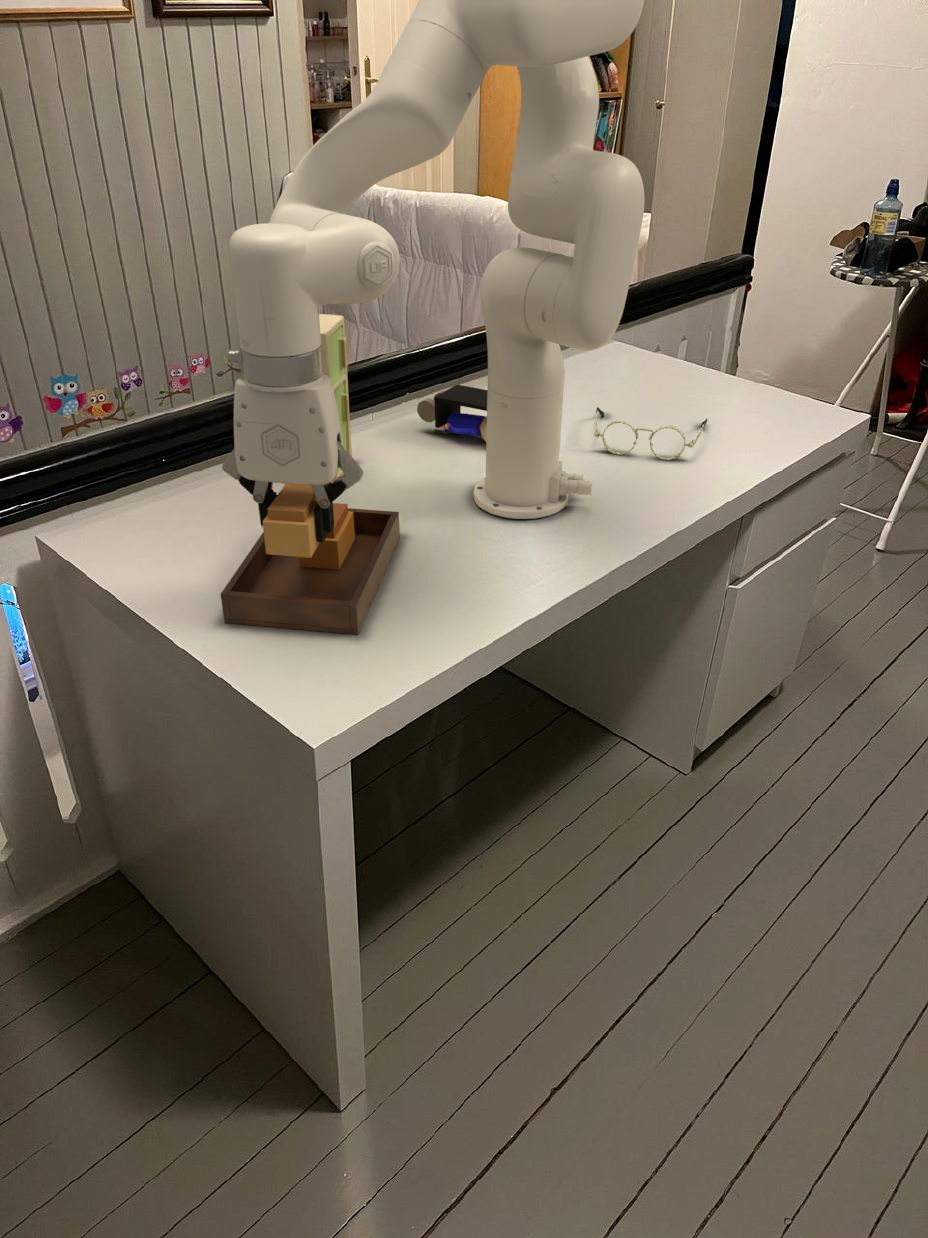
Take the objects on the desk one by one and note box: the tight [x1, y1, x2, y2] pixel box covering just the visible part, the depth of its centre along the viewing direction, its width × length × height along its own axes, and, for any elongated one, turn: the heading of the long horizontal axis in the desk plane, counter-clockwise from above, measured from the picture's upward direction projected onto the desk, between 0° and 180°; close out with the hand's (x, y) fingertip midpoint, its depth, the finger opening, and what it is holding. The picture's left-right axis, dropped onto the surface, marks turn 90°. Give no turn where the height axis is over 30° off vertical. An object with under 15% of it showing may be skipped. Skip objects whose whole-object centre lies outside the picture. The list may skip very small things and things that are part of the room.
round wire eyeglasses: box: [593, 406, 708, 461], centre depth 142 cm, size 17×15×5 cm
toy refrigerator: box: [319, 313, 353, 482], centre depth 127 cm, size 8×7×21 cm
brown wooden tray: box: [219, 507, 401, 635], centre depth 108 cm, size 15×22×4 cm
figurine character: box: [416, 384, 488, 442], centre depth 142 cm, size 7×8×15 cm
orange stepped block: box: [299, 502, 355, 570], centre depth 111 cm, size 5×8×5 cm, turn 172°
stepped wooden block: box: [262, 483, 320, 558], centre depth 99 cm, size 5×8×5 cm, turn 172°
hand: (298, 532), depth 100 cm, fingers closed on stepped wooden block, 4 cm apart
